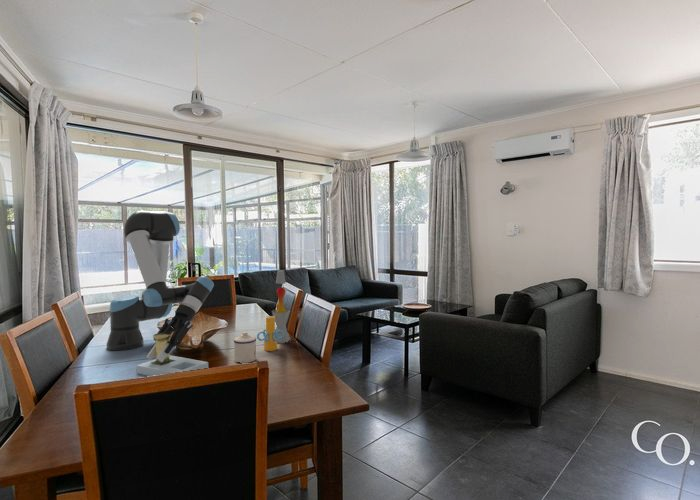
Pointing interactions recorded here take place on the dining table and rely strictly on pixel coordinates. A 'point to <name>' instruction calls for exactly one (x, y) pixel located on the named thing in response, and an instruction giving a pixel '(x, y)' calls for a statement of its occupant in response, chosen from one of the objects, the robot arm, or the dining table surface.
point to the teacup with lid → (245, 348)
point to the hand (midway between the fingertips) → (154, 359)
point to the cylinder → (270, 334)
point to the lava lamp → (281, 310)
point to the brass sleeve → (162, 346)
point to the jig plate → (170, 366)
